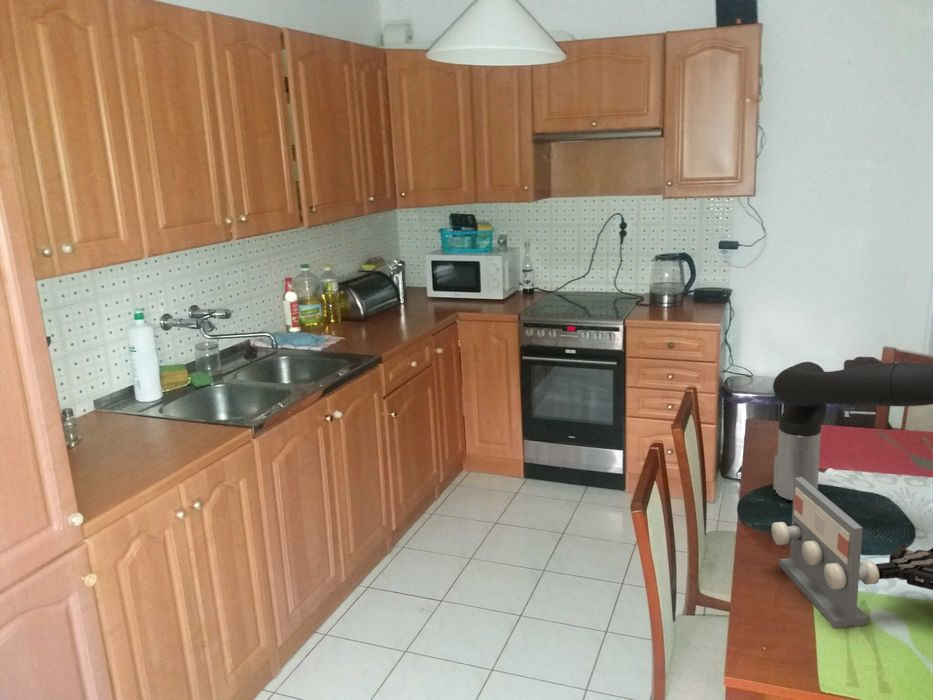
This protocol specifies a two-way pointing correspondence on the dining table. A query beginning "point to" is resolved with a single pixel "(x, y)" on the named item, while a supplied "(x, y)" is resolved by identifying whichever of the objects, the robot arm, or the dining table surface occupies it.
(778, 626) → the dining table surface
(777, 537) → the pin
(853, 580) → the grey panel with knobs
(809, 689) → the dining table surface
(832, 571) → the pin
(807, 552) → the middle pin
